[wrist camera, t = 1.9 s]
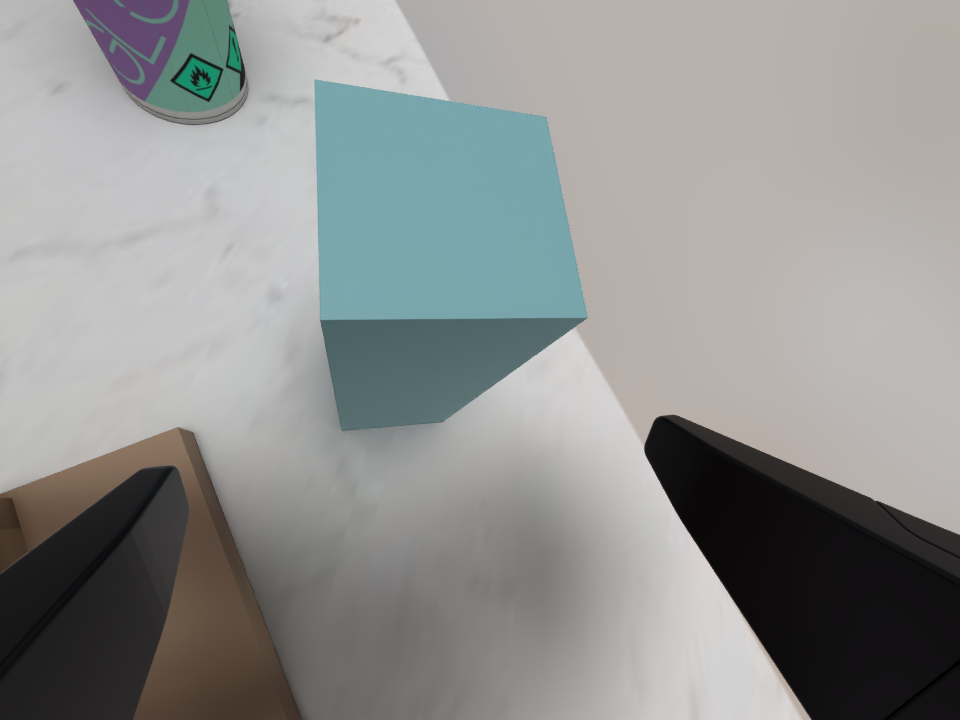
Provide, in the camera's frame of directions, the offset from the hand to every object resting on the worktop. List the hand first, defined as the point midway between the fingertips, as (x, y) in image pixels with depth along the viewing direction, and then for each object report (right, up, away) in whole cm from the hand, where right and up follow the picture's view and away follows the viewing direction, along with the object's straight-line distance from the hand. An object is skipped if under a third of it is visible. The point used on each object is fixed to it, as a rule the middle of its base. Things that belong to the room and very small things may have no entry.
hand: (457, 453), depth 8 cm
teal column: (-4, +1, +11) cm, 12 cm away
